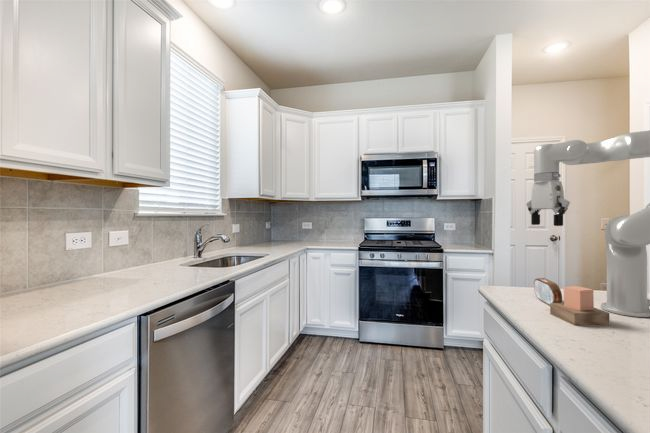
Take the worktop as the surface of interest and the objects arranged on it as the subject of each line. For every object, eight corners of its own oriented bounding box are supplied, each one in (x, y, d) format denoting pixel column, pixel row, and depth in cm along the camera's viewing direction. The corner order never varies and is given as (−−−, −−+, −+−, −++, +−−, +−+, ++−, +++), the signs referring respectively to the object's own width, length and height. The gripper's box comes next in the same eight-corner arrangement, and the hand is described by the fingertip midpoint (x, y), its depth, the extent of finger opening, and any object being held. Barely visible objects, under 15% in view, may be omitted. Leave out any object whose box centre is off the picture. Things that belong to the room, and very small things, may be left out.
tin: (563, 309, 104) (563, 284, 104) (552, 309, 104) (552, 284, 104) (541, 297, 118) (541, 275, 118) (532, 297, 119) (532, 275, 119)
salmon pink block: (576, 304, 97) (576, 286, 97) (593, 309, 92) (593, 289, 92) (564, 306, 96) (563, 287, 96) (580, 310, 91) (579, 290, 91)
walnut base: (581, 315, 99) (581, 303, 99) (609, 326, 89) (609, 313, 89) (550, 315, 99) (550, 303, 99) (574, 326, 89) (574, 313, 89)
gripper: (578, 175, 104) (578, 226, 104) (536, 181, 121) (536, 224, 121) (558, 175, 103) (558, 226, 103) (519, 181, 120) (519, 224, 120)
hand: (546, 225), depth 112 cm, fingers open, 9 cm apart
